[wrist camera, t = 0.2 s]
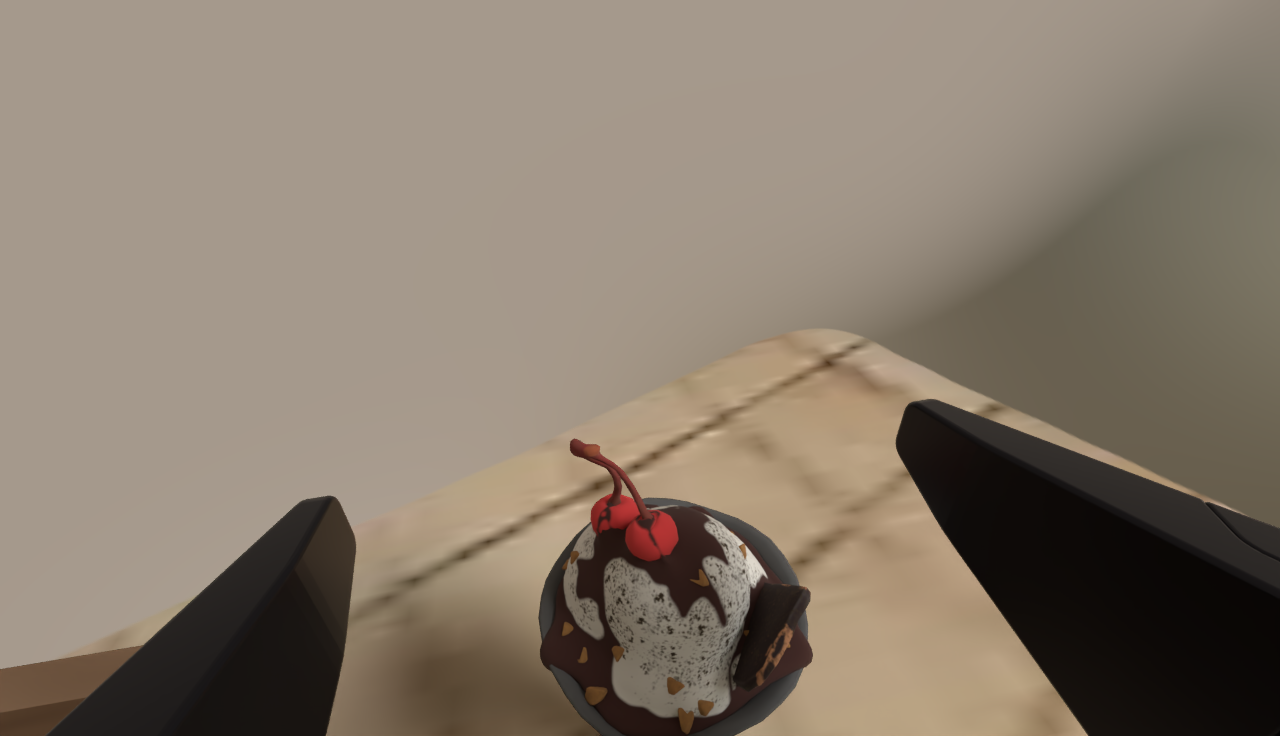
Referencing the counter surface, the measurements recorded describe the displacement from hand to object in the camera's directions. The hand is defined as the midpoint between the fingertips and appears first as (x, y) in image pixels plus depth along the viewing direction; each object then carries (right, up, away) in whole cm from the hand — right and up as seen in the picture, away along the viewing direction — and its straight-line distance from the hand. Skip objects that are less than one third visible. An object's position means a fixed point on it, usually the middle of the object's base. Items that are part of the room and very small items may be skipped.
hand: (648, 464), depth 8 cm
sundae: (+1, -13, +11) cm, 17 cm away
